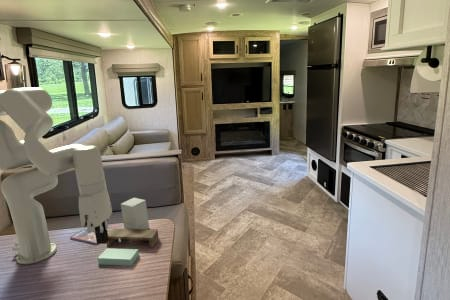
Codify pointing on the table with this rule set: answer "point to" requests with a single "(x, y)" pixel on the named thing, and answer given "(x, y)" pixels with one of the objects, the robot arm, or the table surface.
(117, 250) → the mint green tile
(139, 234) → the walnut stand
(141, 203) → the supplement box
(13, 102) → the robot arm
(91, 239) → the smartphone
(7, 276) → the table surface
